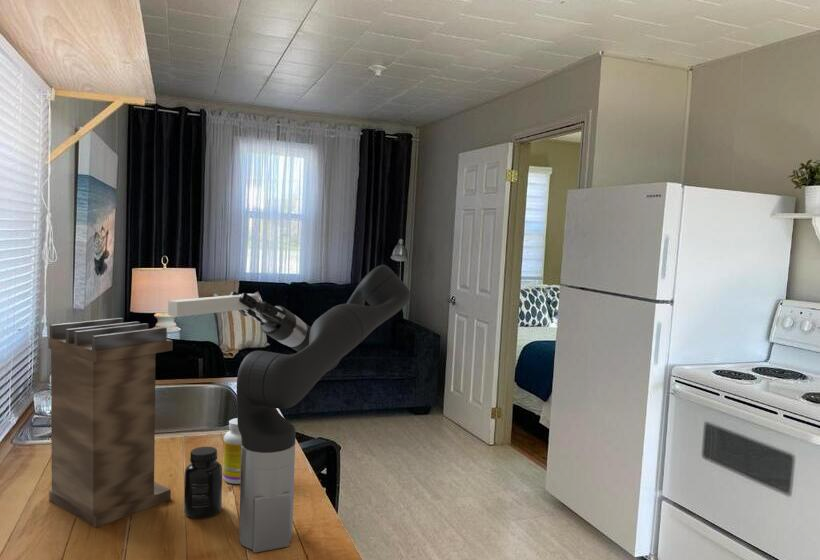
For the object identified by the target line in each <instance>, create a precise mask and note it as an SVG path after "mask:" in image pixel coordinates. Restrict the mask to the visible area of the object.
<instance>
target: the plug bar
mask: <svg viewBox="0 0 820 560" xmlns="http://www.w3.org/2000/svg"><path fill="white" fill-rule="evenodd" d="M238 294H239V295H230V294H229V295H219V296H208V297H206V296H205V297H196V298H183V299H182V298H181V299H172V300H168V301H167V302H168V303H167V304H168V305H167V309H168V310H167V312H168V313H167V315H168V316H171V317H176V318H178V317H181V318H182V317H187V316H188V317H190V316H198V315H207V314H215V313H216V314H217V313H224V312H225V313H226V312H233V311H234V312H235V311H238V310H245V309H252V308H249V307H247V306H246V305H244V304H242V303H241V302H240V301H239V299H240V297H241V295H242V293H238ZM247 294H248V295H249V296H251V297H252V298H254V299H255V301H256V300H259V294H256V293H247Z"/></svg>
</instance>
